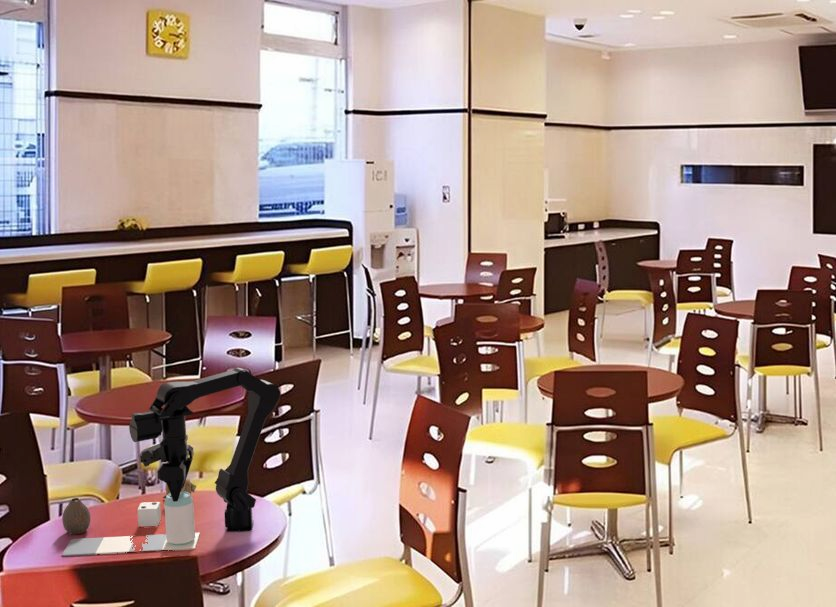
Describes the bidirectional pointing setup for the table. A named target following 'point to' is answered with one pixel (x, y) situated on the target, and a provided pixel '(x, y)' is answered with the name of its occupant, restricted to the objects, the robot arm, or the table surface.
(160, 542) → the board
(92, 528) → the table surface
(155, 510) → the die
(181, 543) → the can
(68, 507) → the vase
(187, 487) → the lion figurine
